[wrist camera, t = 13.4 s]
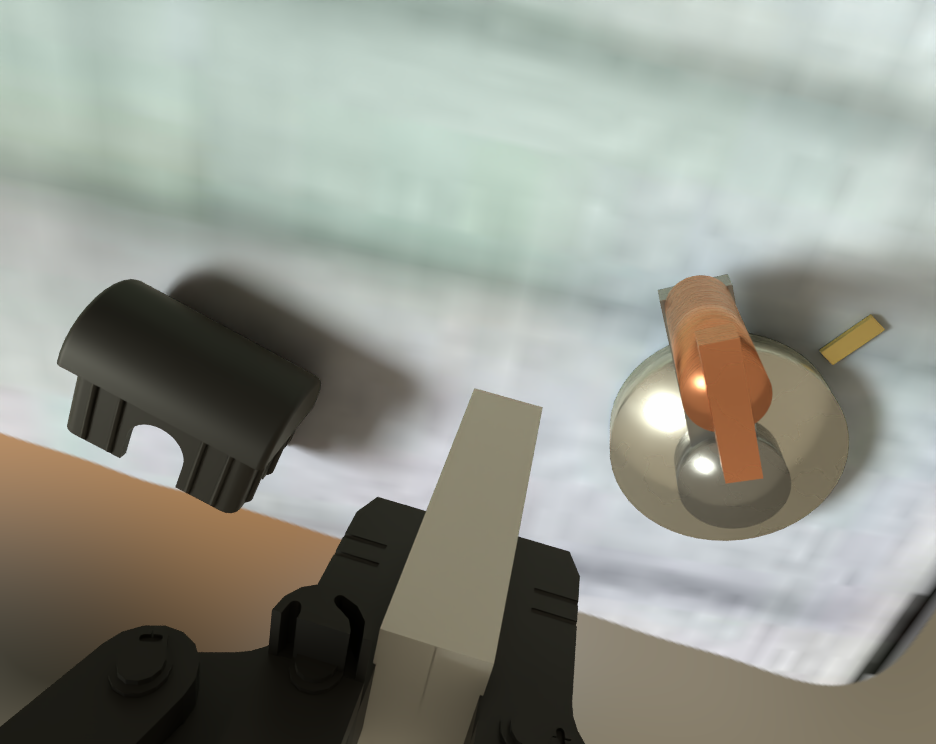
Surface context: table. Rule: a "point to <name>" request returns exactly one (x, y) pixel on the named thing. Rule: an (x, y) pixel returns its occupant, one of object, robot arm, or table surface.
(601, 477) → the table surface
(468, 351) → the table surface
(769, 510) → the crank
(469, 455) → the robot arm
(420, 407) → the table surface
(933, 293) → the table surface
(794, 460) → the crank housing
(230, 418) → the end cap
